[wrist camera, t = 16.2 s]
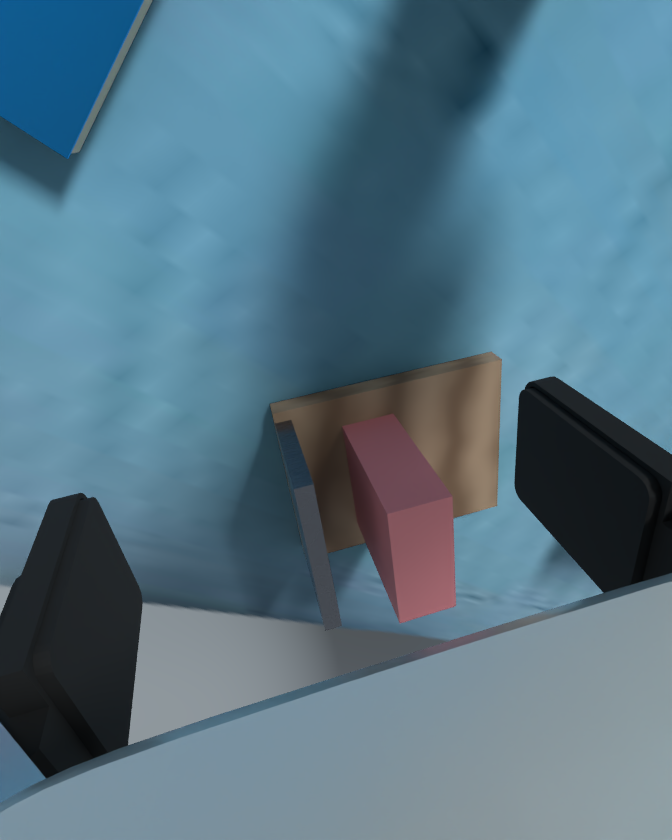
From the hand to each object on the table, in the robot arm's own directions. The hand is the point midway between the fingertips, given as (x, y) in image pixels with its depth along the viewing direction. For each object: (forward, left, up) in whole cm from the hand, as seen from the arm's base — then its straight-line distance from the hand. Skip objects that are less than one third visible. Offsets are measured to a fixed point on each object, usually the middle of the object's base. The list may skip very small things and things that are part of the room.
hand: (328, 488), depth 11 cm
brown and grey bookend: (-11, +24, -33) cm, 42 cm away
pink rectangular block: (-9, +24, -31) cm, 40 cm away
